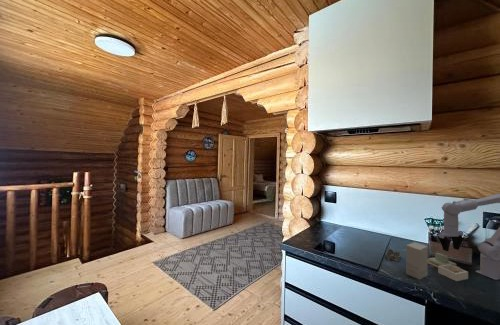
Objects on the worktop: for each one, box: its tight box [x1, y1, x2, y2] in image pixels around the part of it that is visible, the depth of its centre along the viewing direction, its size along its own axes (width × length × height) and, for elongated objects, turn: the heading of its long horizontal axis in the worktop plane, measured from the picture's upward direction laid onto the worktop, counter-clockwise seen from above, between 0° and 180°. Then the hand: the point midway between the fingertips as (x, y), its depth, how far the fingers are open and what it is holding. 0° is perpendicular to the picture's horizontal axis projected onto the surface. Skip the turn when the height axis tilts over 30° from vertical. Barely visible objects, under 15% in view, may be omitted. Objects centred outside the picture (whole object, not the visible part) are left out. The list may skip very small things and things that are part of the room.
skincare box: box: [405, 241, 429, 280], centre depth 108 cm, size 8×7×16 cm
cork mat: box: [428, 260, 461, 269], centre depth 119 cm, size 11×11×1 cm
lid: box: [428, 252, 457, 266], centre depth 119 cm, size 9×9×5 cm
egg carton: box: [385, 247, 402, 263], centre depth 128 cm, size 11×8×4 cm
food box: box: [437, 264, 469, 282], centre depth 108 cm, size 8×8×4 cm
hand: (450, 249), depth 115 cm, fingers open, 7 cm apart
